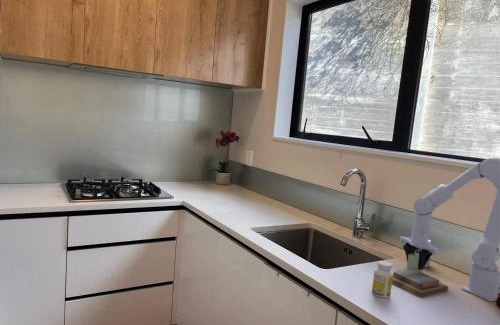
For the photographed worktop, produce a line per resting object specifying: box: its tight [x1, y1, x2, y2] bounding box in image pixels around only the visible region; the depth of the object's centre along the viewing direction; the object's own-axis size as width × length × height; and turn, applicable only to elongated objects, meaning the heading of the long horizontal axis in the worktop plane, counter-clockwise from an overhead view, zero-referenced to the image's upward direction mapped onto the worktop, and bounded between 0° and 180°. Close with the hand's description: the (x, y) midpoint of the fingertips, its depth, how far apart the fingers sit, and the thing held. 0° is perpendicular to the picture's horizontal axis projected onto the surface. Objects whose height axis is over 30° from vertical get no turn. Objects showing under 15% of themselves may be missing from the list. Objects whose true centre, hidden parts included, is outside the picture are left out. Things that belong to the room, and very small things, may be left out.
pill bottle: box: [415, 239, 432, 268], centre depth 147 cm, size 5×5×10 cm
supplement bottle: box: [371, 260, 394, 299], centre depth 115 cm, size 5×5×10 cm
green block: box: [405, 252, 424, 273], centre depth 138 cm, size 4×4×6 cm
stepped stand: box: [392, 268, 449, 298], centre depth 126 cm, size 14×14×3 cm
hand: (415, 267), depth 138 cm, fingers closed on green block, 4 cm apart
